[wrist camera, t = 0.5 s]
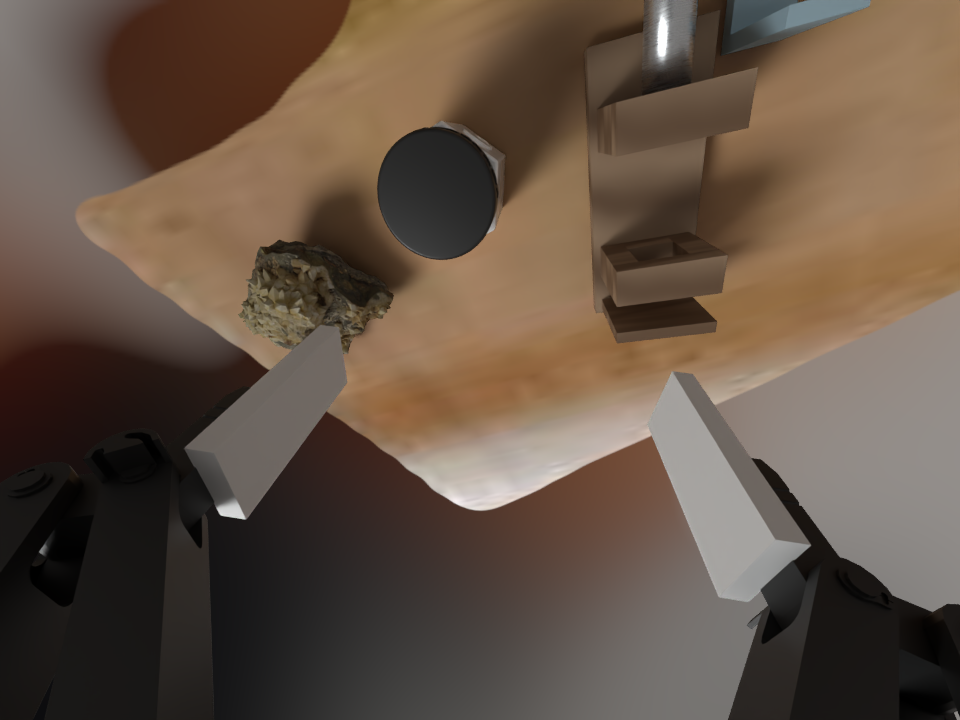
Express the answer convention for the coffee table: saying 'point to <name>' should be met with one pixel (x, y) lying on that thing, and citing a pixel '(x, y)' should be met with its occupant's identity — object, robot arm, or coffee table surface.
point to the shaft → (668, 44)
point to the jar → (441, 190)
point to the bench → (655, 185)
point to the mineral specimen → (309, 295)
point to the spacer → (778, 19)
